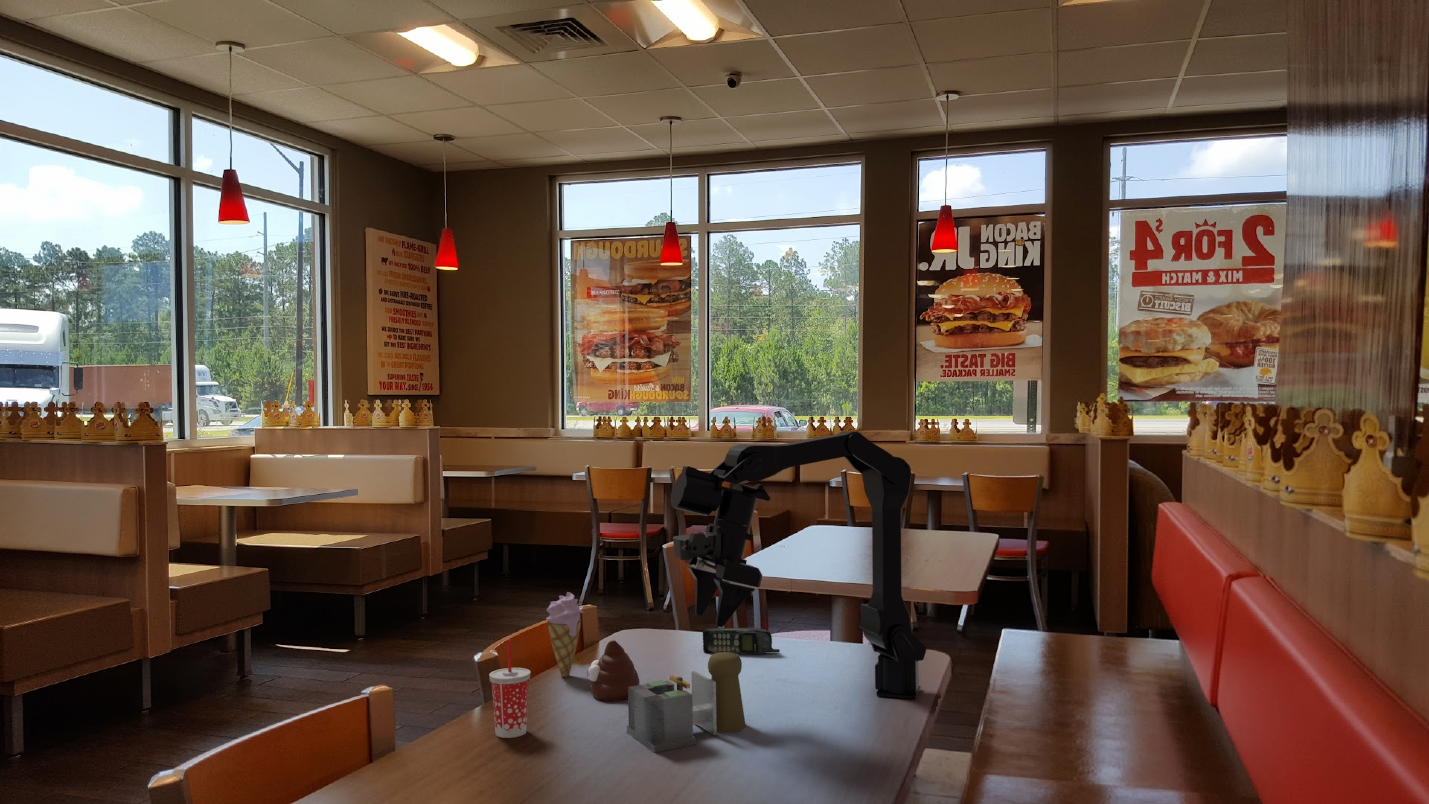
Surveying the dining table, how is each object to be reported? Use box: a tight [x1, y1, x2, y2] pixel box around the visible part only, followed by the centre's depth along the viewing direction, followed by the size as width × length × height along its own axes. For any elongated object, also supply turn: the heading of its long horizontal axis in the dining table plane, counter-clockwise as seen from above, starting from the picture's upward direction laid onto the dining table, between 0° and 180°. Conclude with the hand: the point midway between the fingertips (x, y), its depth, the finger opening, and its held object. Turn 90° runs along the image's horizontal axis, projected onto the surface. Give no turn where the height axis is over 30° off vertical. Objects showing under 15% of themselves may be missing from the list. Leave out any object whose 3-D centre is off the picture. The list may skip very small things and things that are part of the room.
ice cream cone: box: [545, 591, 584, 678], centre depth 180 cm, size 7×6×15 cm
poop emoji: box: [587, 639, 640, 702], centre depth 168 cm, size 10×8×9 cm
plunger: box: [669, 670, 718, 735], centre depth 148 cm, size 4×7×8 cm, turn 28°
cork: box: [707, 652, 746, 733], centre depth 150 cm, size 6×6×11 cm
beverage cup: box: [488, 638, 531, 739], centre depth 149 cm, size 6×6×14 cm
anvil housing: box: [626, 679, 697, 753], centre depth 145 cm, size 6×10×7 cm, turn 28°
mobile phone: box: [702, 627, 780, 656], centre depth 194 cm, size 5×3×15 cm
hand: (708, 620), depth 154 cm, fingers open, 9 cm apart
